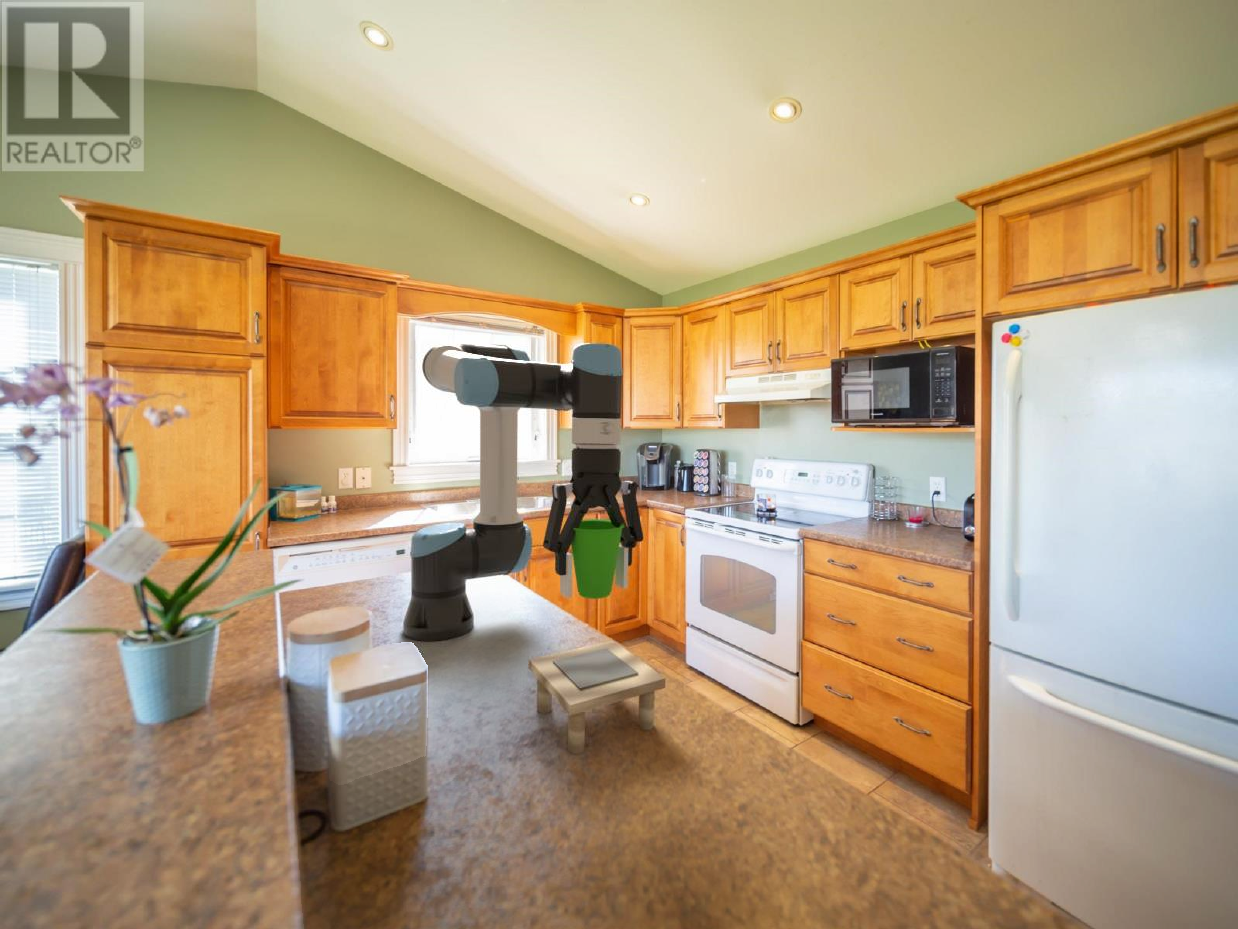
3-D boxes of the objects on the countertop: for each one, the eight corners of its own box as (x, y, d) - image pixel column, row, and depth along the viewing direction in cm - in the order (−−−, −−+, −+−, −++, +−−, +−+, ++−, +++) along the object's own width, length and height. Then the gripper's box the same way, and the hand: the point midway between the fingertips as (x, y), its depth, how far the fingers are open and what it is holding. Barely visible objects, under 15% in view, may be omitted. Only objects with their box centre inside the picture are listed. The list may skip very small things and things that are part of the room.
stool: (528, 706, 85) (528, 657, 84) (612, 683, 93) (613, 638, 92) (569, 761, 71) (570, 703, 70) (664, 728, 79) (665, 676, 79)
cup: (617, 605, 75) (618, 531, 74) (557, 600, 77) (558, 527, 76) (628, 587, 84) (629, 520, 83) (575, 583, 86) (575, 517, 85)
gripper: (538, 448, 70) (537, 609, 72) (668, 447, 81) (665, 587, 83) (520, 446, 77) (519, 594, 78) (642, 445, 88) (640, 575, 89)
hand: (594, 590), depth 80 cm, fingers closed on cup, 9 cm apart
